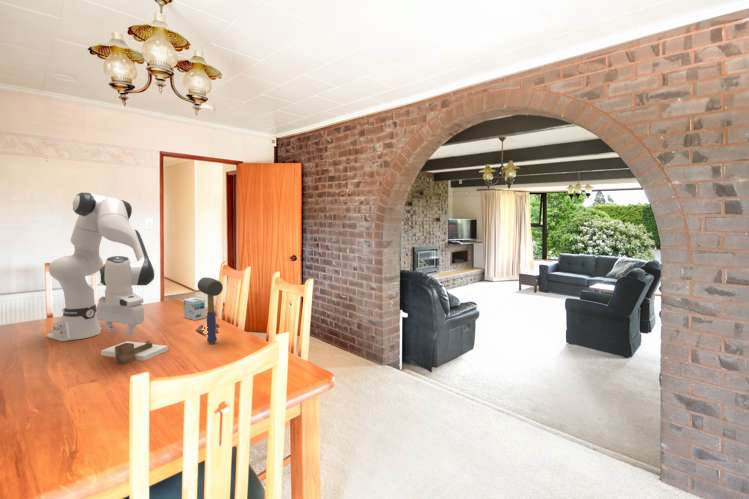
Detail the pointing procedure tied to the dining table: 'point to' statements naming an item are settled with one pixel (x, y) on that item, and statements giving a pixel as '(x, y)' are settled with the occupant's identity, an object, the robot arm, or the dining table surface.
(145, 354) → the board
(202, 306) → the light bulb box
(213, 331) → the rubber mallet
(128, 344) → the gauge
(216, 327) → the wooden fragment
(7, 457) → the dining table surface
